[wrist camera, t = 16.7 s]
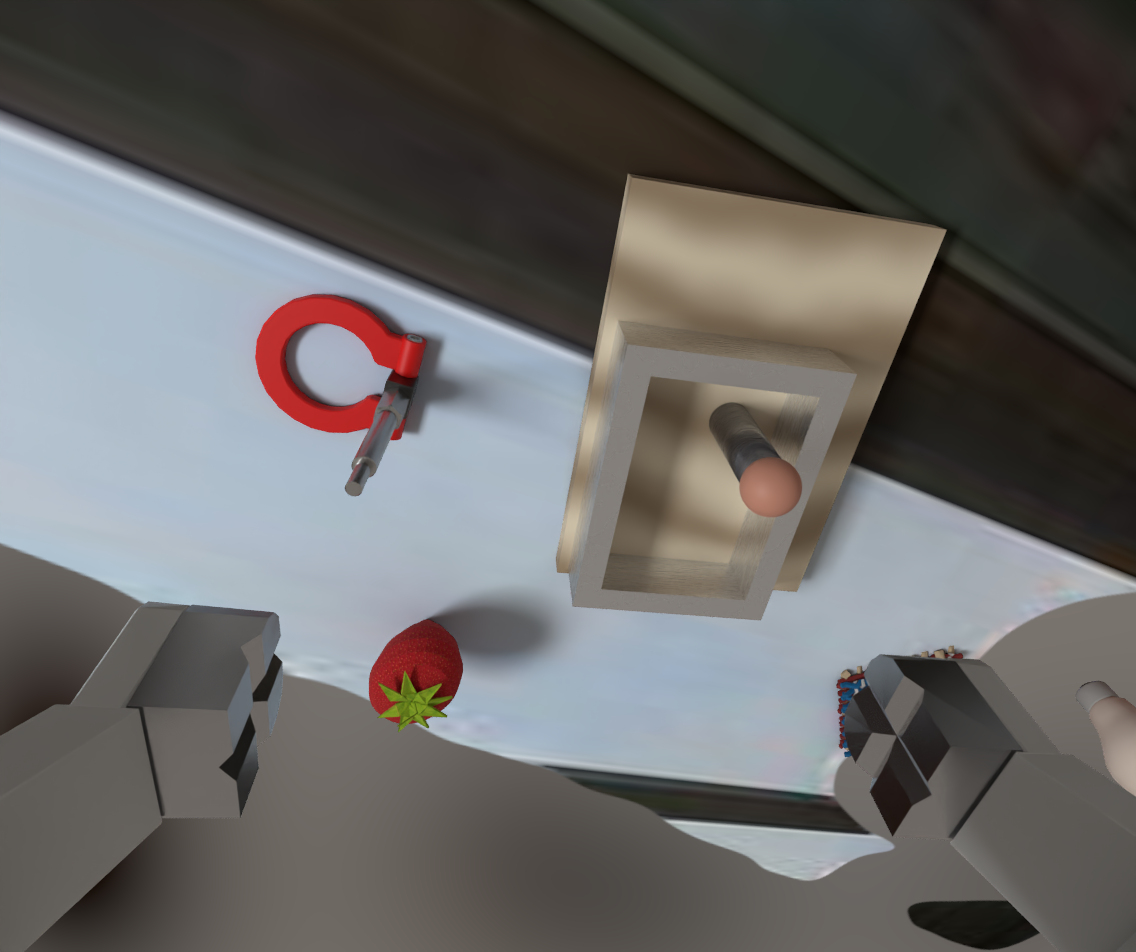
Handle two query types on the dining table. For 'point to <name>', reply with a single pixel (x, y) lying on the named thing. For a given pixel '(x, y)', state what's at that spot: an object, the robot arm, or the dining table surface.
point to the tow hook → (371, 413)
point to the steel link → (762, 541)
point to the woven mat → (862, 683)
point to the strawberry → (416, 675)
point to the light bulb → (1113, 730)
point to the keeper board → (751, 310)
